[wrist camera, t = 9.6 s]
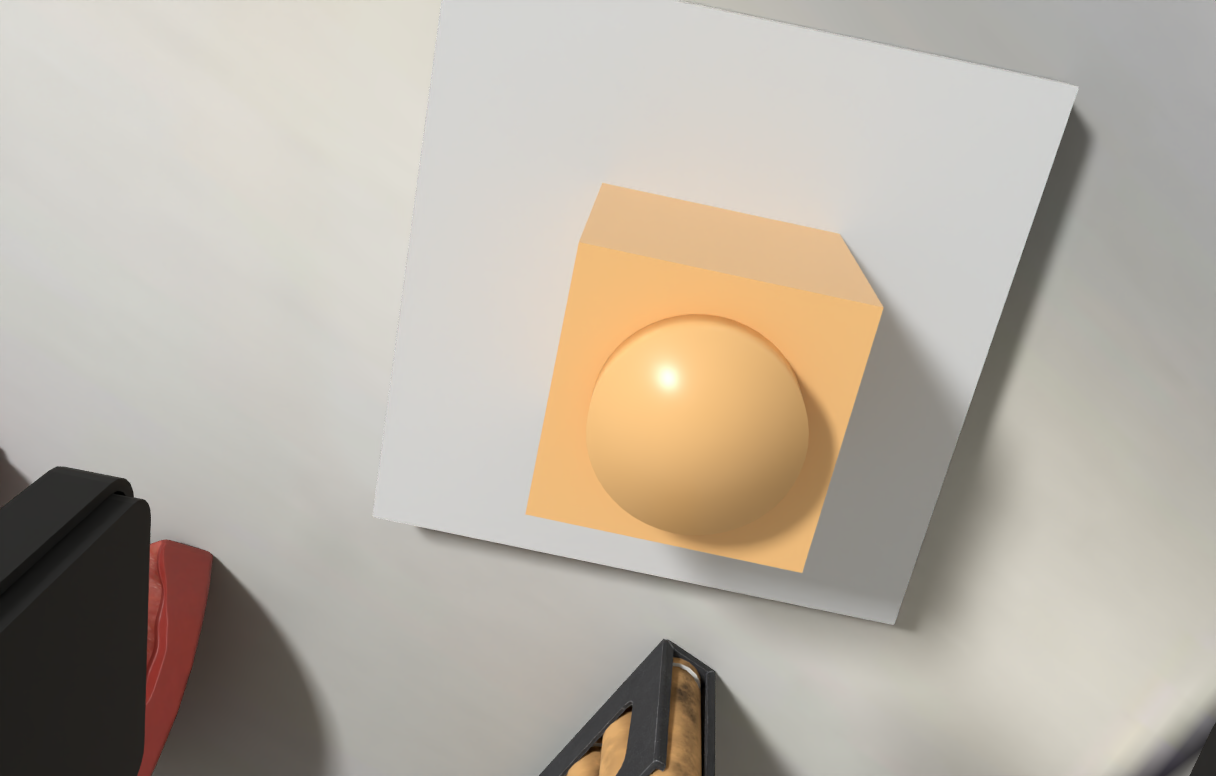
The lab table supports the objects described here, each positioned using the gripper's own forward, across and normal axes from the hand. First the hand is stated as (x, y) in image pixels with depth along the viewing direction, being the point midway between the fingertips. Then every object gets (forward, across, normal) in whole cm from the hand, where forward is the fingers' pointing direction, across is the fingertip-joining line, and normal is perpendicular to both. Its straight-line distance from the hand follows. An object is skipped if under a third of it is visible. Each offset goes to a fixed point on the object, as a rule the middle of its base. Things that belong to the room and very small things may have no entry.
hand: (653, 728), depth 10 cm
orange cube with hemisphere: (+17, -1, +2) cm, 17 cm away
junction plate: (+19, -1, +2) cm, 19 cm away
